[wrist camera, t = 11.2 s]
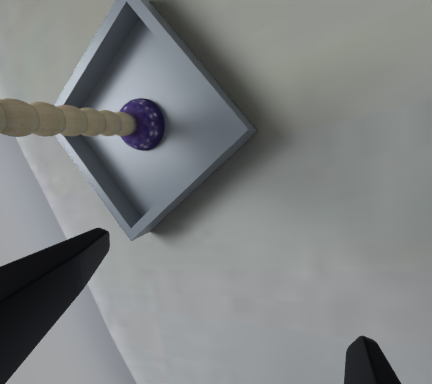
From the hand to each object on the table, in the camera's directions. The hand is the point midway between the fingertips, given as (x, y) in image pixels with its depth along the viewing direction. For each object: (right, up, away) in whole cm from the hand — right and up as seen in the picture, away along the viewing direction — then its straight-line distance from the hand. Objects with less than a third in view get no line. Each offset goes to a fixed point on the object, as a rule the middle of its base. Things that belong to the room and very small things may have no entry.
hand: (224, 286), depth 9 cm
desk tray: (-6, +9, +14) cm, 18 cm away
